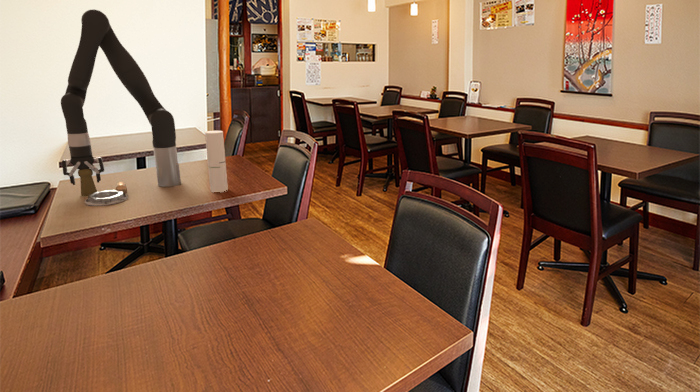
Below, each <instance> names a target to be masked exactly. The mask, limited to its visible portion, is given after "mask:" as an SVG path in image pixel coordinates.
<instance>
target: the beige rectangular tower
mask: <svg viewBox="0 0 700 392" xmlns="http://www.w3.org/2000/svg"><path fill="white" fill-rule="evenodd" d="M204 138H205V149H206V159H207V167H208V178H209V188H210V192H211V193H214V192H220V193H225V192H227V191H229V187H228V175H227V173H228V172H227V164H226V163H227V162H226V151H225V139H224V131H223V130H207V131H205V132H204ZM226 190H227V191H226ZM224 191H225V192H224Z"/></svg>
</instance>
